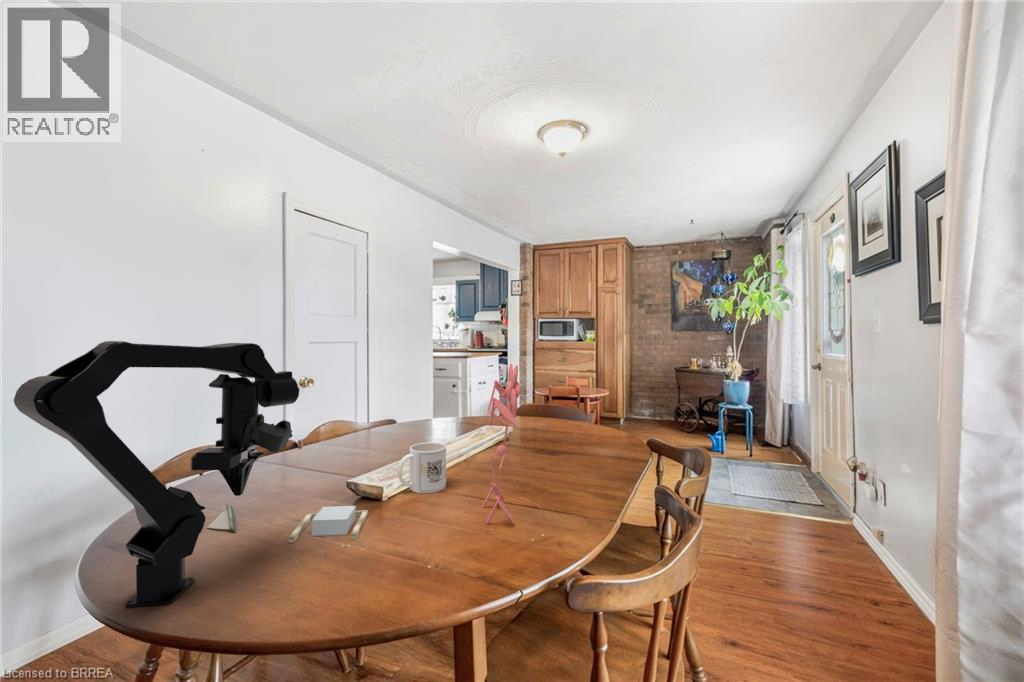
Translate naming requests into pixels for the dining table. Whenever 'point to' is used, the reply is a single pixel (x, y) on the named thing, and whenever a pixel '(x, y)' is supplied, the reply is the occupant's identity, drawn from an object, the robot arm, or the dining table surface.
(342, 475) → the dining table surface
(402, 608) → the dining table surface
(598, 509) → the dining table surface
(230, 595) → the dining table surface
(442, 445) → the mug
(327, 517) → the pale blue eraser block
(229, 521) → the ceramic fragment
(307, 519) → the tile bay
